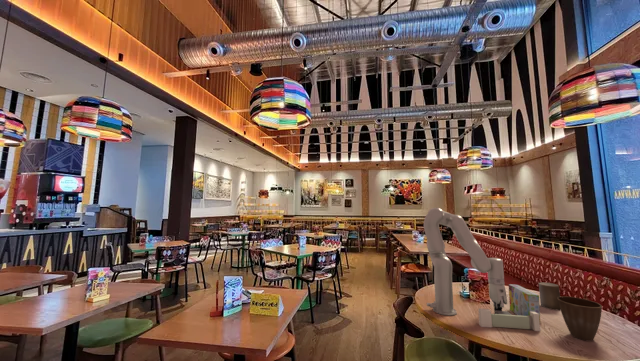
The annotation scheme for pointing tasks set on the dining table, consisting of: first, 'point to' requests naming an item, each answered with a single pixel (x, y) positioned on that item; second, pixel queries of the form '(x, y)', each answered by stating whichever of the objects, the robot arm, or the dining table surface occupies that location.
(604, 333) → the dining table surface
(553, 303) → the pillar candle
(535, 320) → the pair of cream posts
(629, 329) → the dining table surface
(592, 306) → the plant pot
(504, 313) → the block
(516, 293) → the snack box
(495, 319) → the door
